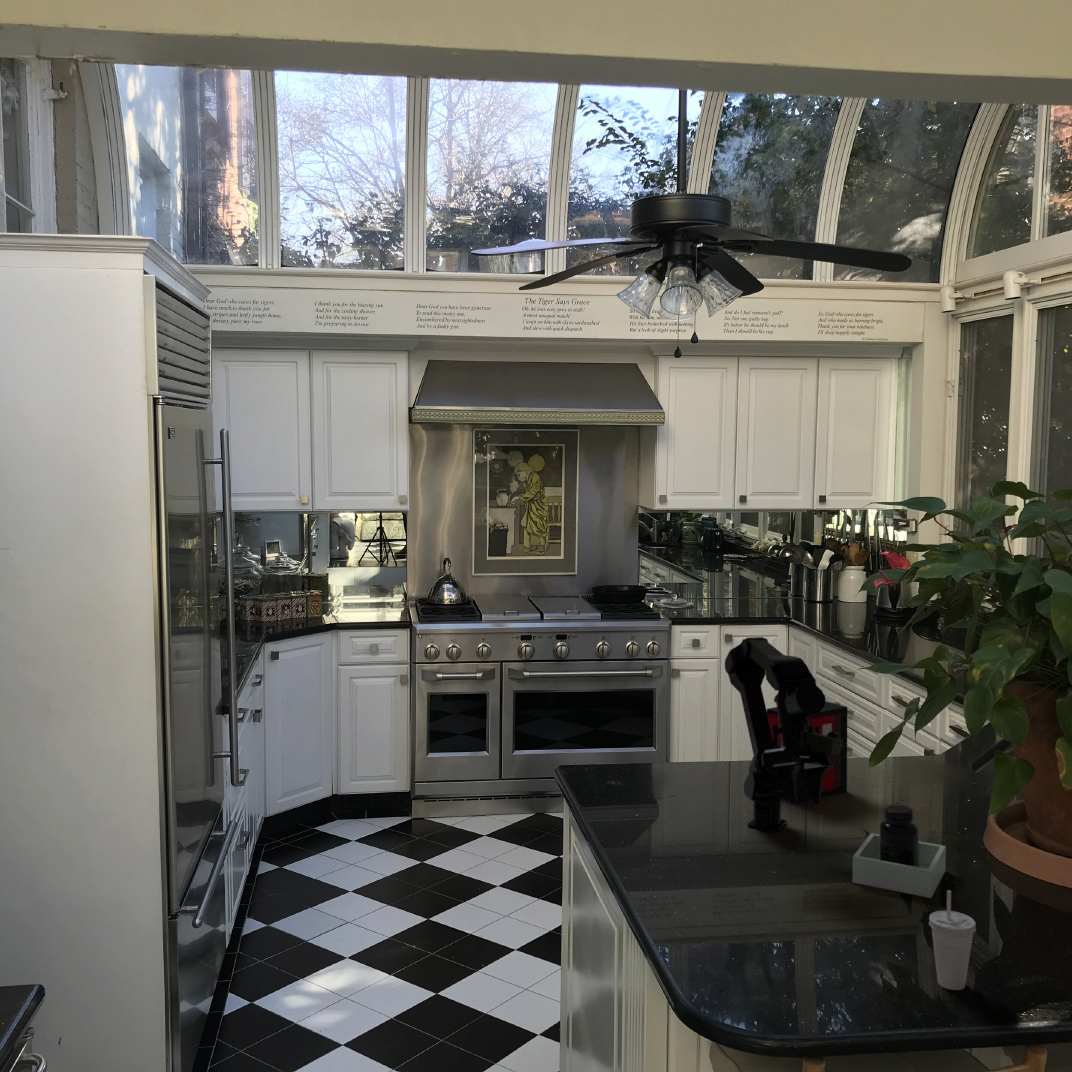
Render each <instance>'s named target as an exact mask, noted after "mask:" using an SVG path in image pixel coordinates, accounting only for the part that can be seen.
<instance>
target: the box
mask: <svg viewBox="0 0 1072 1072" xmlns="http://www.w3.org/2000/svg"><path fill="white" fill-rule="evenodd" d="M946 848H947V845H943V844H937V843H930V842H924V841H919V867H914V866H909V865H903V864H898V863H893V862H887V861H882V860H880V833H873V832H871V833H869V835H868V836H867V838H866V839H865V840H864V842H863V843H862V844H861V845H860V847H859V848H858V849H857V851H856V852H855V853H854V854H853V856H852V883H854V884H858V885H863V886H868V887H873V888H880V889H884V890H888V891H889V890H890V891H894V892H899V893H903V894H909V895H914V896H919V897H923V898H929V899H932V897H933V895H934V894H935V892H936V890H937V888H938V886H939V884H940V882H941V880H942V878H943V876H944V875H945V873H946V856H947V855H946V851H947V849H946Z"/></svg>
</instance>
